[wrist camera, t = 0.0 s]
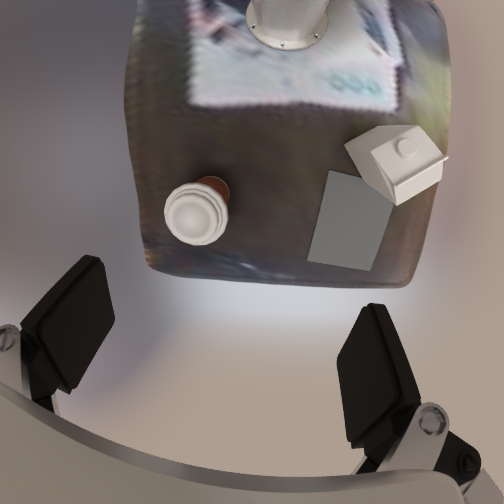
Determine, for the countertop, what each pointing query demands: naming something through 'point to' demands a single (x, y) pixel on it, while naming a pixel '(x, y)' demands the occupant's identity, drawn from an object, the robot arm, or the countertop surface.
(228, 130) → the countertop surface
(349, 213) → the mat
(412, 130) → the milk carton
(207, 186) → the coffee cup
